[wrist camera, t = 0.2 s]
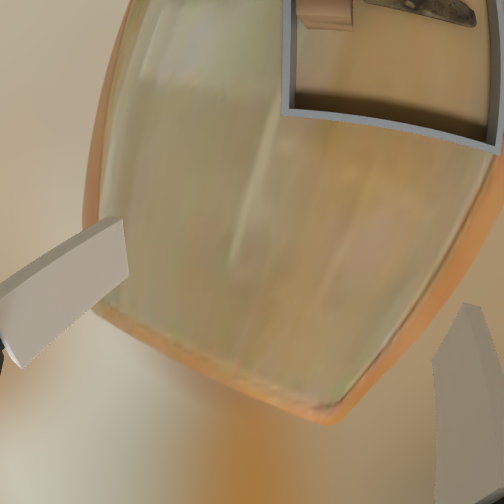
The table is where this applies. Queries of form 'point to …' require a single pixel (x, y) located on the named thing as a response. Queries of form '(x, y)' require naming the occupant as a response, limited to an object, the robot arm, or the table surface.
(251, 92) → the table surface
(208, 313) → the table surface
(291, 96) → the parts tray
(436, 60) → the table surface
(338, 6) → the walnut block
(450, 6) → the stone
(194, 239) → the table surface
